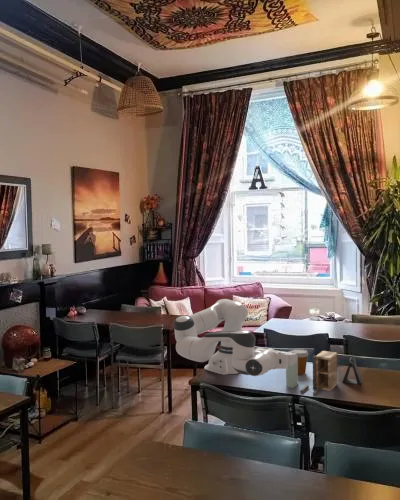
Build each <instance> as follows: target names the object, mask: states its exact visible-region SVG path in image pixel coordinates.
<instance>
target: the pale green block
mask: <svg viewBox="0 0 400 500" xmlns="http://www.w3.org/2000/svg"><path fill="white" fill-rule="evenodd" d="M285 375H286V376H285V377H286V378H285V381H286V386H285V387H287V388H291V389H294V388H295V387H296V386H297V385H299V375H298V358H297V362H296V363H295V364H293V365H291V366H288V368H287V369H285Z"/></svg>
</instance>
